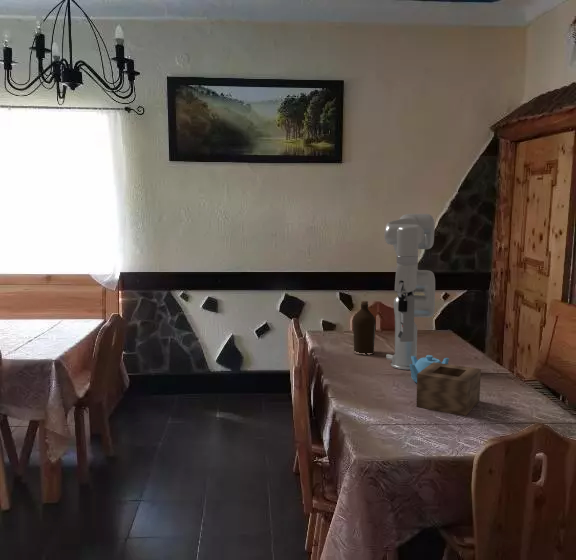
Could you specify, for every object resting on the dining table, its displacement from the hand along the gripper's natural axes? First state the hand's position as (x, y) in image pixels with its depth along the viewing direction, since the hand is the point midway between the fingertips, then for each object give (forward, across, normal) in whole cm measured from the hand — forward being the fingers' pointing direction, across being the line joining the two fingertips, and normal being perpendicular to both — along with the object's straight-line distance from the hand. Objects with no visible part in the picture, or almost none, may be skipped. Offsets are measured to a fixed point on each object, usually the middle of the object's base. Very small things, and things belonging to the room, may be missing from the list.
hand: (406, 309), depth 217 cm
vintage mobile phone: (+12, 0, 0) cm, 12 cm away
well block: (+33, -2, +16) cm, 37 cm away
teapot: (+34, -24, +1) cm, 41 cm away
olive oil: (+34, -51, -40) cm, 73 cm away
